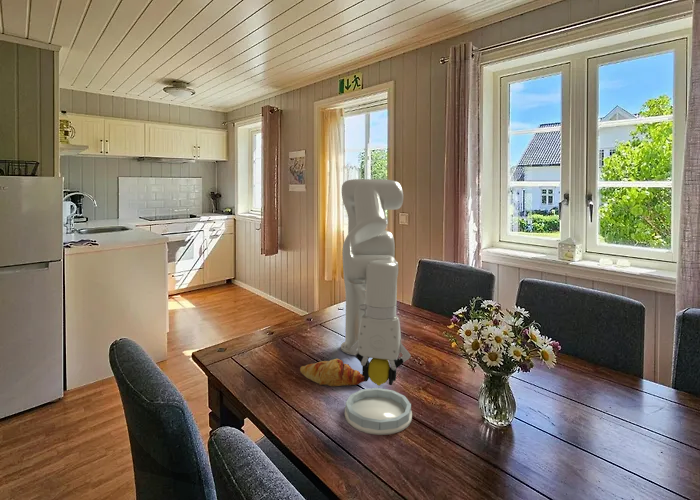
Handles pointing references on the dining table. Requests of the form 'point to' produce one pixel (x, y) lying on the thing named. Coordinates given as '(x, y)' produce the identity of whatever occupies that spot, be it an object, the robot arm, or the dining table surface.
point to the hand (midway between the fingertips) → (379, 380)
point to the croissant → (332, 373)
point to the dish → (378, 411)
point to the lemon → (378, 370)
